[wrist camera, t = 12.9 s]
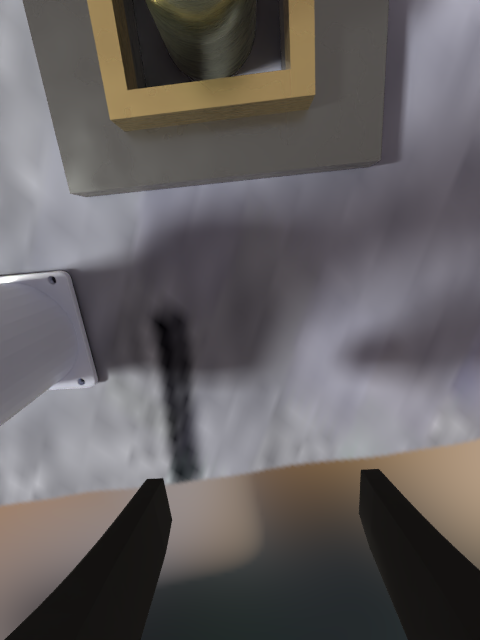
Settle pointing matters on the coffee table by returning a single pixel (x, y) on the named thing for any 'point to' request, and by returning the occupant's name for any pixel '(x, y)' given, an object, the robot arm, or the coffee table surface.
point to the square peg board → (210, 99)
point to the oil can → (206, 34)
